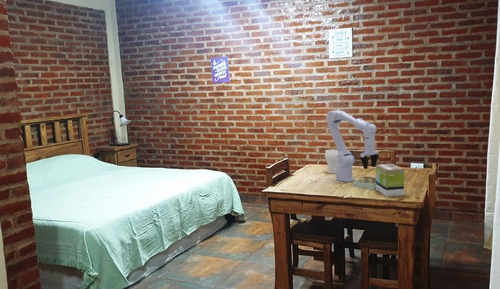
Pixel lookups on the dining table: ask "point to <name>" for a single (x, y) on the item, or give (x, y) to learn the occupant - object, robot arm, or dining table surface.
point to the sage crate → (364, 185)
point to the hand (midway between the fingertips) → (369, 167)
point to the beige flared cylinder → (331, 160)
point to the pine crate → (368, 180)
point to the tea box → (390, 180)
